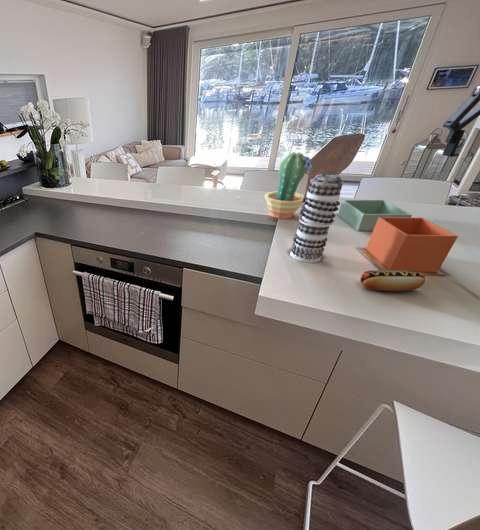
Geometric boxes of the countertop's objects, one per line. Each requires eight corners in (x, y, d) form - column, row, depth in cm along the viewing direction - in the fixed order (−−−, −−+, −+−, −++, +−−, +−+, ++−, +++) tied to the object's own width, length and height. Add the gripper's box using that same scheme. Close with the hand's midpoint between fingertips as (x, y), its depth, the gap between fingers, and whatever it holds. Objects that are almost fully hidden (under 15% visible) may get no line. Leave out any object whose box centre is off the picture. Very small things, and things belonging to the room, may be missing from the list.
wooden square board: (410, 252, 88) (411, 250, 88) (444, 276, 77) (445, 274, 76) (358, 250, 91) (359, 249, 91) (383, 273, 80) (384, 272, 79)
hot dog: (424, 295, 71) (434, 278, 68) (364, 294, 73) (371, 278, 70) (409, 284, 75) (418, 268, 72) (353, 283, 77) (360, 267, 74)
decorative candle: (282, 253, 93) (300, 175, 81) (302, 247, 96) (324, 170, 83) (307, 265, 86) (332, 182, 73) (329, 258, 89) (357, 176, 76)
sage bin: (378, 216, 113) (384, 199, 110) (403, 232, 100) (412, 214, 96) (337, 215, 116) (342, 200, 113) (357, 232, 103) (363, 214, 99)
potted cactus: (283, 224, 113) (298, 158, 100) (252, 213, 125) (263, 152, 113) (310, 216, 118) (328, 152, 105) (278, 206, 130) (291, 147, 118)
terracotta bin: (406, 251, 88) (422, 217, 83) (437, 273, 77) (458, 236, 72) (365, 249, 91) (378, 217, 85) (389, 271, 80) (406, 235, 74)
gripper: (576, 53, 67) (521, 149, 78) (448, 66, 72) (413, 154, 83) (617, 49, 61) (551, 153, 72) (474, 63, 66) (432, 159, 77)
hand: (477, 154), depth 77 cm, fingers open, 13 cm apart
